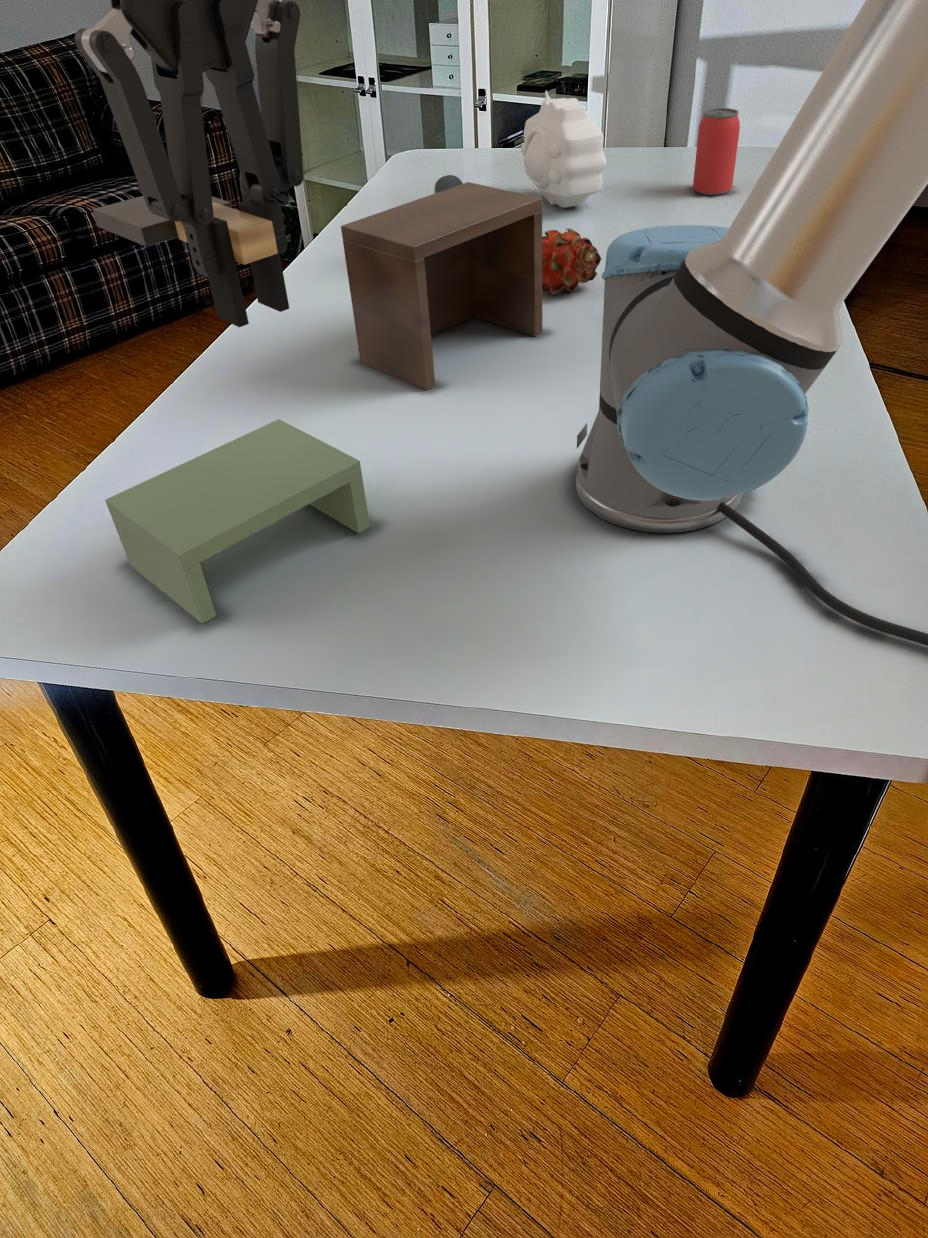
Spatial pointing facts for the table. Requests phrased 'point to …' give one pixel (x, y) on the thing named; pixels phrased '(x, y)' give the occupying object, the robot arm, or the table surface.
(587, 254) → the dragon fruit
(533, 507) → the table surface
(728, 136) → the beer can
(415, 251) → the wooden side table
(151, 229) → the wood-handled square paddle
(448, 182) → the paintbrush
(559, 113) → the white ridged figurine
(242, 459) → the low shelf
